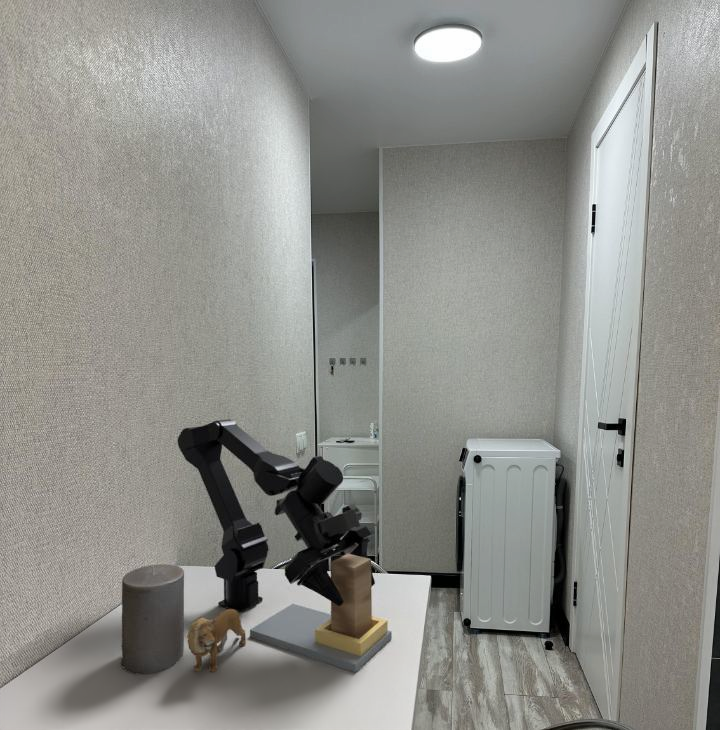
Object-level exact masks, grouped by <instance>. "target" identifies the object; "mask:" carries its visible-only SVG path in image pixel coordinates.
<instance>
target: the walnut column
mask: <svg viewBox="0 0 720 730" xmlns="http://www.w3.org/2000/svg"><path fill="white" fill-rule="evenodd" d="M371 571H372V559H371V558H369V557H368V558H364V557H360V556H356V555H352V554H346V555H344V556H342V555H341V556H340V557H338V558H336V559H335V560H332V561H330V578H331V579H332V581H333V583H334V584H335V586H336V588H337V589H338V591H339V593H340V595H341V597H342V599H343V601H344V603H343V604H342V605H341V606H338V605H336V604H335V603H333V602H331V601H330V614H331V631H333V632H336V633H339V634H343V635H346V636H349V637H353V638H356V639H360V638H361V637H362V636H363V635H364V634H366V633H367V632H368V631H369V630H370V629H371V628H372V615H373V614H372V613H373V611H372V609H373V608H372V607H373V604H372V601H373V599H372V598H373V597H372V596H373V595H372V594H373V593H372V587H371Z"/></svg>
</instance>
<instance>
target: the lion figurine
mask: <svg viewBox="0 0 720 730" xmlns="http://www.w3.org/2000/svg"><path fill="white" fill-rule="evenodd" d="M229 630H230V631H232V632H233V633H234V634H235V635H236V636H237V637H240V638H241V639H240V640H239V642H238V645H239V646H240V647H245V646H246V645H247V638H246V631H245V629H243V626H242V624H241V617H240V613H239V612H238V611H236V610H234V609H226V610H225V609H224V610H223V611H221V612H220V613H219V614H218V616H216V617H215V618H214V619H209V618H208V617H198V618H197V619H195V620H194V621H193V622H191V624H190V626H189V627H188V629H187V636H186V639H187V646H188V650H189V651H190V653H191V654H193V656H195V661H196V664H194V665H193V671H195V672H197V671H198V672H199V671H200V670H201V669H202V666H203V657H205V656H207V655H209V657H210V659H209V668H208V669H209V670H208V671H209V672H211V673H213V672H217V671H218V662H217V657H218V656H217V654H218V651H222V650H223V649H224V647H225V644H226V642H227V640H228V631H229Z"/></svg>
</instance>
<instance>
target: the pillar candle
mask: <svg viewBox="0 0 720 730" xmlns="http://www.w3.org/2000/svg"><path fill="white" fill-rule="evenodd" d="M184 632H185V570H184V569H183V567H180V566H179V565H177V564H167V563H165V564H164V563H163V564H159V563H158V564H151V565H150V564H148V565H146V566H141V567H138V568H136V569H133V570H130V571H129V572H127V573H126V574H125V575H124V576H122V579H121V660H120V662H121V663H120V665H121V667H122V666H123V667H124V668H123V667H122V668H123V669H125V670H124V671H126V672H128V673H130V674H131V673H132V674H137V673H138V674H137V675H147V674H154V673H158V672H161V671H163V670H164V671H165V670H166V669H169V668H170V666H171V667H173V666H174V665H176V664H177V663H178V662H179V661H180V660H181V659H182V658H183V656H184V651H185V649H184V648H185V643H184V642H185V635H184V634H185V633H184ZM181 657H182V658H181ZM180 658H181V659H180ZM176 662H177V663H176ZM153 672H154V673H153ZM145 673H147V674H145Z"/></svg>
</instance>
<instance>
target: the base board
mask: <svg viewBox="0 0 720 730" xmlns="http://www.w3.org/2000/svg"><path fill="white" fill-rule="evenodd" d="M388 623H389V621H388V619H384V618H380V617H376V616H372V628H371V629H370V630H369V631H368V632H367V633H366V634H364V635H363V636H362V637H361V638H360V639H356V638H353V637H349V636H346V635H343V634H339V633H336V632H333V631H331V613H327V612H323V611H320V610H316V609H312V608H309V607H306V606H302V605H300V604H299V605H298V604H296V603H291V604H290V605H288V606H286V607H284V608H283V609H281V610H280V611H278V612H276V613H275V614H273V615H272V616H270V617H269V618H267V619H265V620H264V621H262V622H260V623H259V624H257V625H256V626H254V627H252V628H250V629H249V637H250V638H254V639H255V640H258V641H262V642H266V643H268V644H271V645H272V646H273V645H274V646H276V647H279V648H282V649H285V650H288V651H291V652H295V653H297V654H300V655H303V656H306V657H309V658H311V659H314V660H317V661H320V662H323V663H327V664H329V665H332V666H334V667H335V666H336V667H338V668H341V669H344V670H347V671H349V672H353V673H356V672H357V671H358V670H360V669H361V668H362V667H363V666H364V665H365V664H366V663H367V662H368V661H369V660H370V659H371V658H372V657H374V656H375V655H376V654H377V653H378V652H379V651H380V650H381V649H382V648H384V646H385V645H386V644H387V643H388V642H389V641H390V640H392V638H393V637H392V635H393V634H392V633H393V632H392V631H391V630H388V629H389V628H388Z"/></svg>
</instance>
